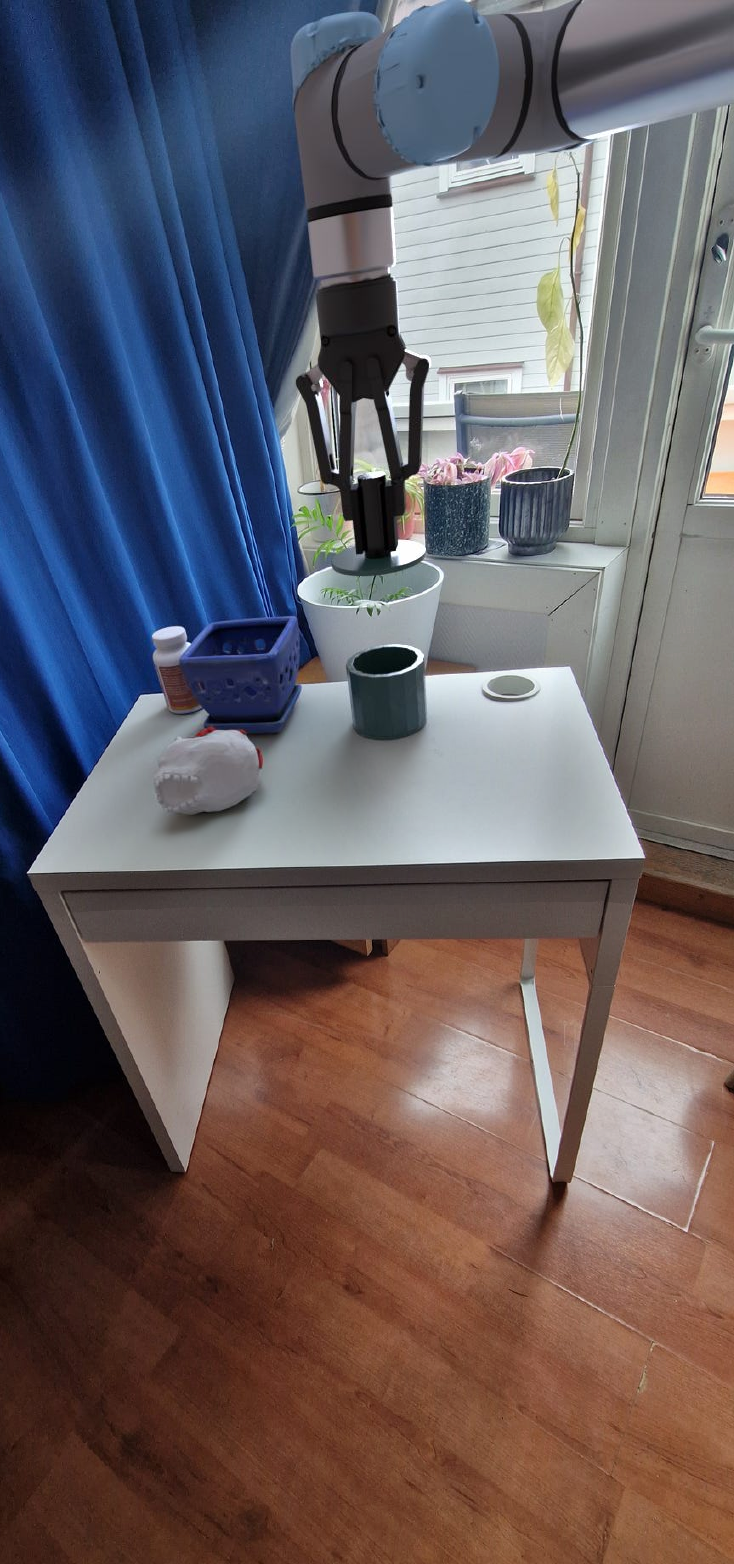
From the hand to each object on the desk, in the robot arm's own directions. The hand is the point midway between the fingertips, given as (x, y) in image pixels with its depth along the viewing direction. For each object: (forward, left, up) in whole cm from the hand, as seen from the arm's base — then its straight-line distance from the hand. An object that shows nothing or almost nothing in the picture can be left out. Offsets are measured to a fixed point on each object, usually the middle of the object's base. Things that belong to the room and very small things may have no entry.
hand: (377, 548), depth 81 cm
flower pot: (+19, -3, -22) cm, 30 cm away
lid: (0, 0, -1) cm, 1 cm away
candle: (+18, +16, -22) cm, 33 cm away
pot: (0, -1, -22) cm, 22 cm away
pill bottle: (+31, -8, -22) cm, 39 cm away
